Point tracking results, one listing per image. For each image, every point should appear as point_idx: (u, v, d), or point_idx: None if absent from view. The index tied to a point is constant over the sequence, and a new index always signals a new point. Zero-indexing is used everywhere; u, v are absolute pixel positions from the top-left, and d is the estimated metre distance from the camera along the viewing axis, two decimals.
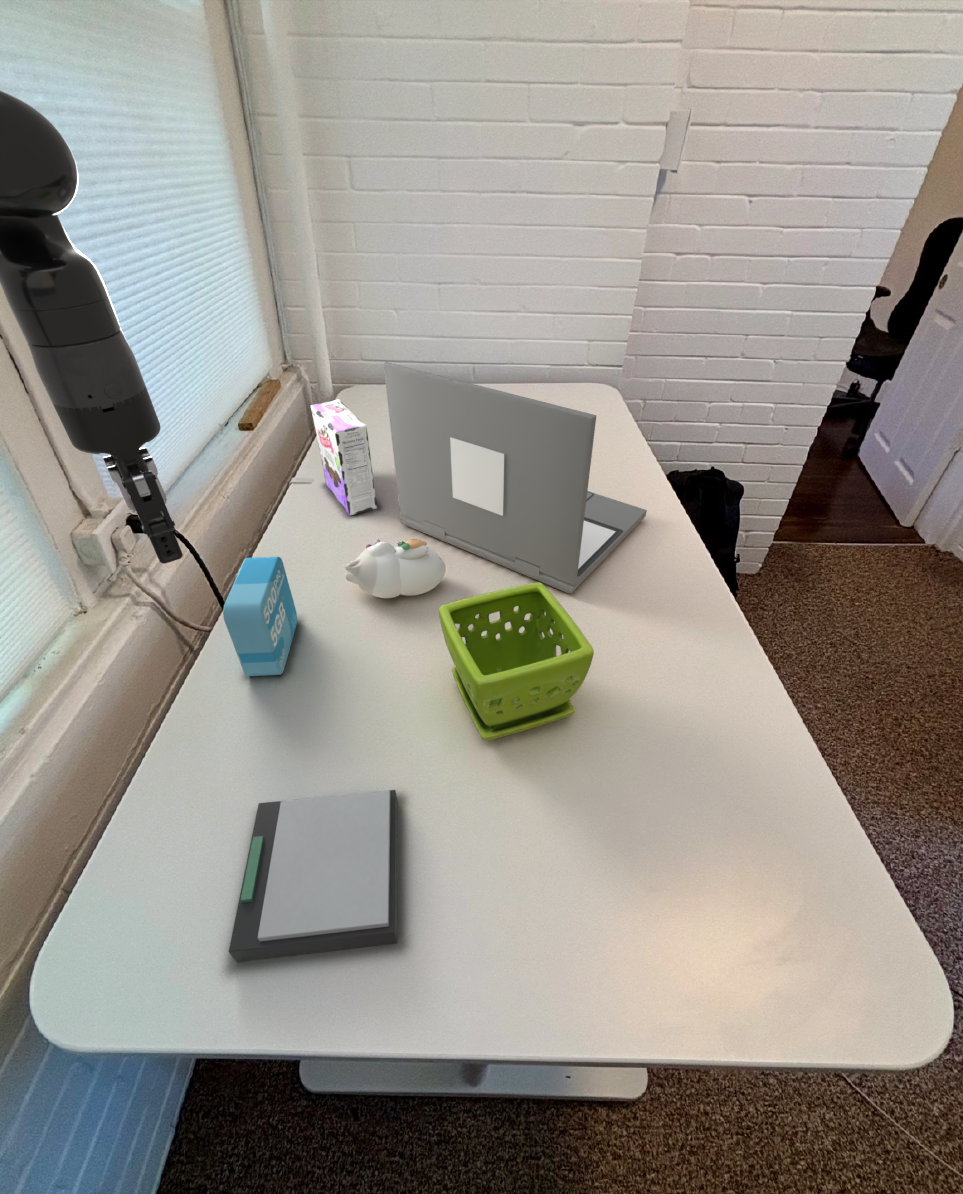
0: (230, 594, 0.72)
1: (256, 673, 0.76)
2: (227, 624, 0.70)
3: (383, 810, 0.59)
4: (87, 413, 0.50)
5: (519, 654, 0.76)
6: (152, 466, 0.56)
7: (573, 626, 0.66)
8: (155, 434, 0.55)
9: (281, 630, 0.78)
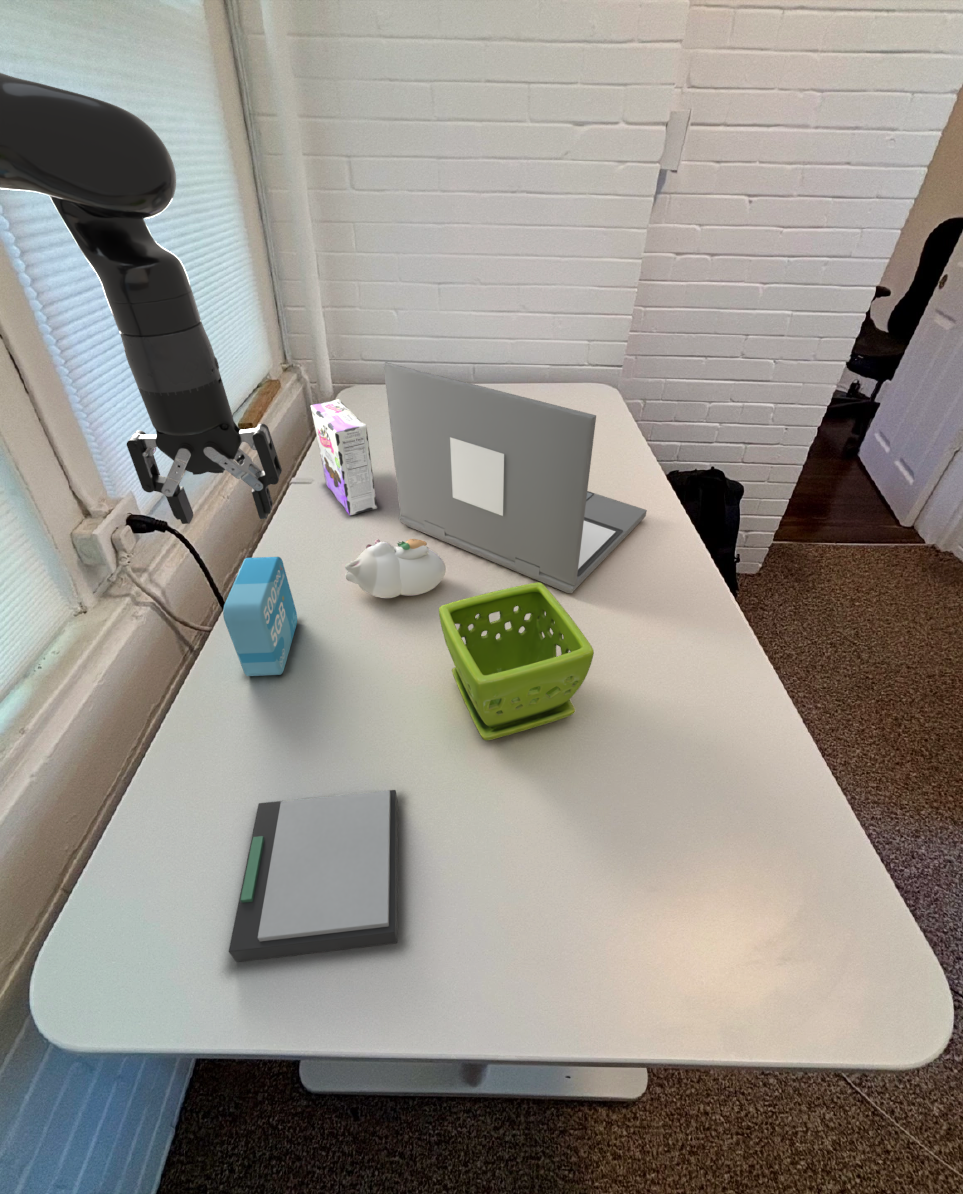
0: (230, 594, 0.72)
1: (256, 673, 0.76)
2: (227, 624, 0.70)
3: (383, 810, 0.59)
4: (212, 387, 0.57)
5: (519, 654, 0.76)
6: None
7: (573, 626, 0.66)
8: None
9: (281, 630, 0.78)
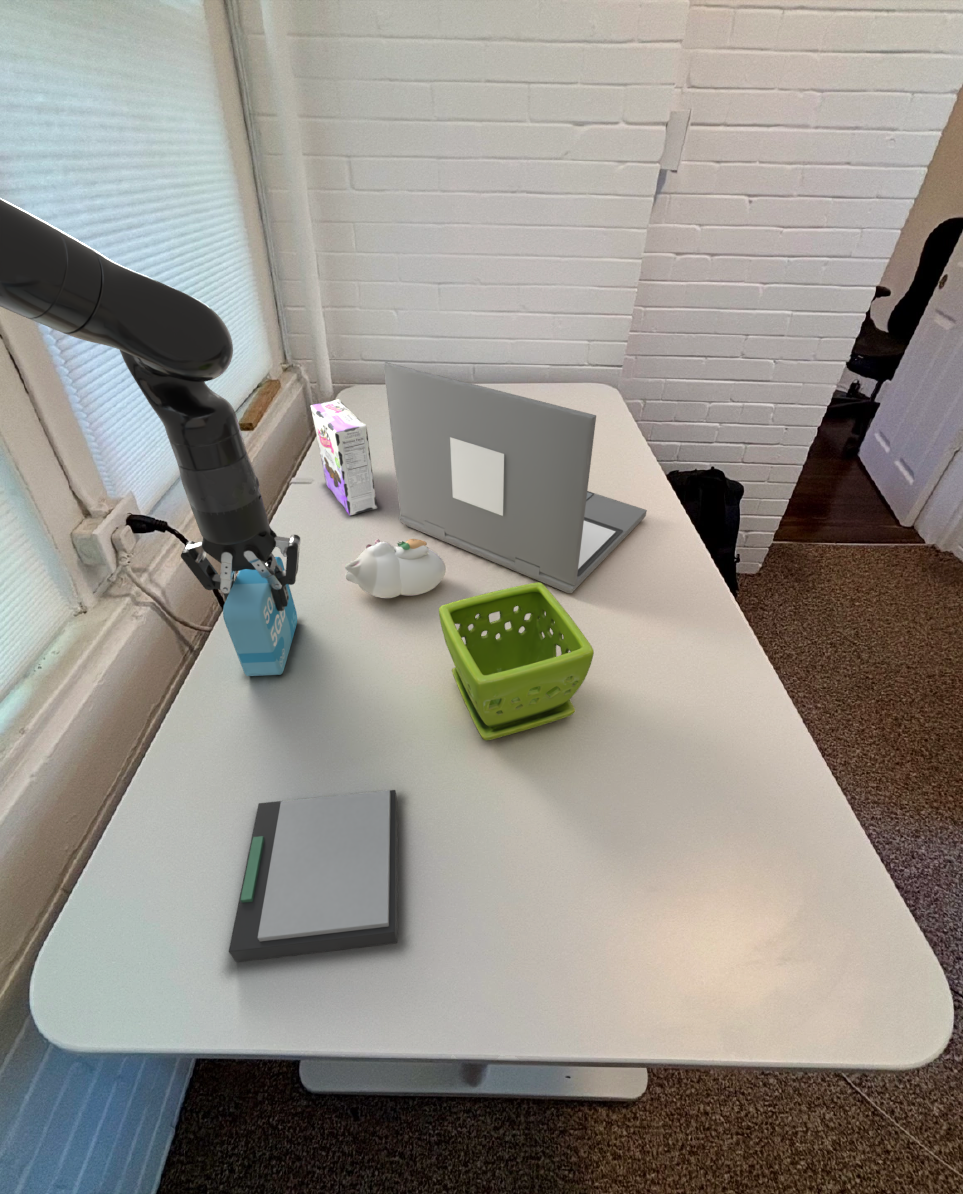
0: (230, 594, 0.72)
1: (256, 673, 0.76)
2: (227, 624, 0.70)
3: (383, 810, 0.59)
4: (254, 504, 0.65)
5: (519, 654, 0.76)
6: None
7: (573, 626, 0.66)
8: None
9: (281, 630, 0.78)
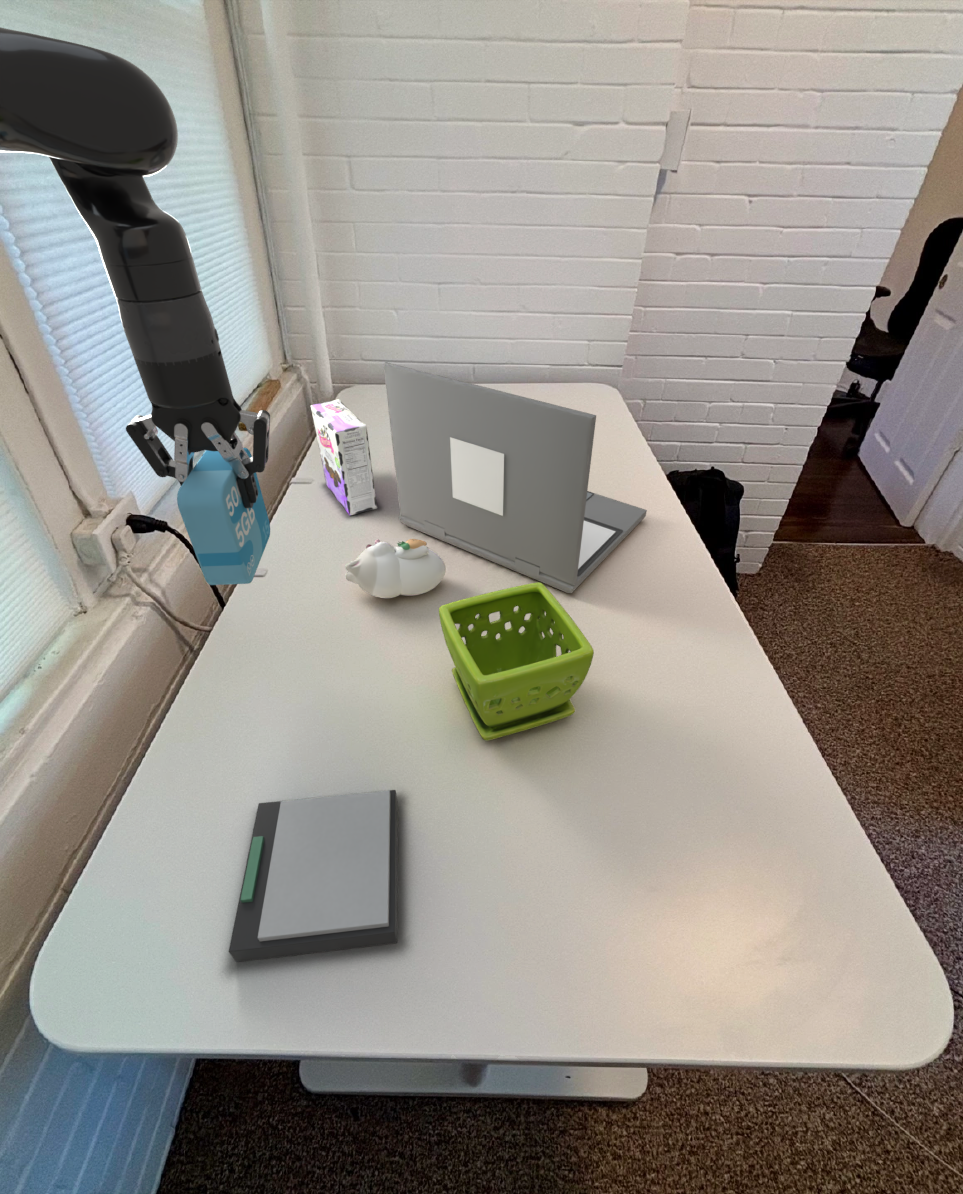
0: (186, 480, 0.60)
1: (219, 580, 0.65)
2: (182, 513, 0.59)
3: (383, 810, 0.59)
4: (212, 358, 0.54)
5: (519, 654, 0.76)
6: None
7: (573, 626, 0.66)
8: None
9: (250, 533, 0.67)
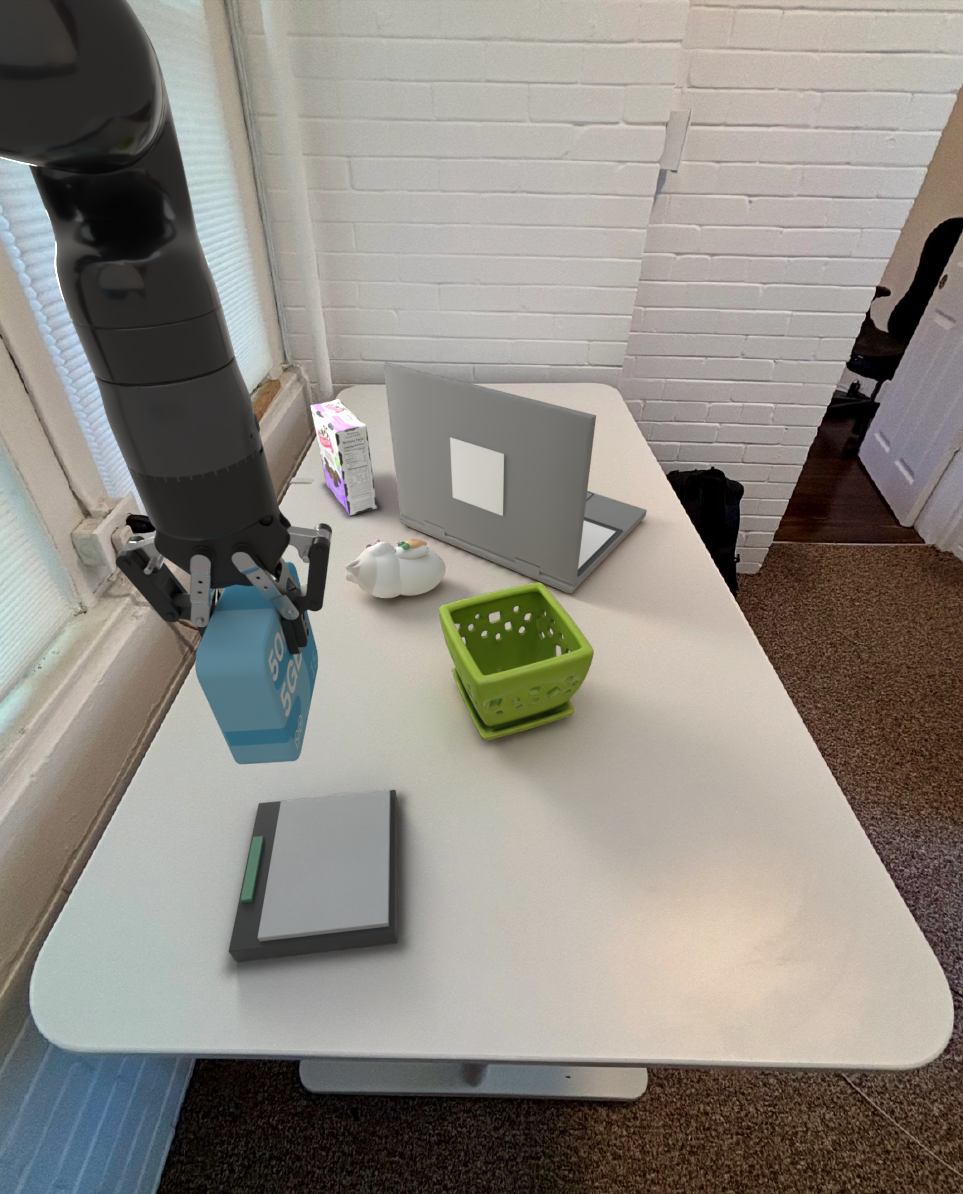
0: (208, 630, 0.40)
1: (255, 760, 0.44)
2: (203, 685, 0.39)
3: (383, 810, 0.59)
4: (251, 462, 0.34)
5: (519, 654, 0.76)
6: None
7: (573, 626, 0.66)
8: None
9: (297, 685, 0.46)
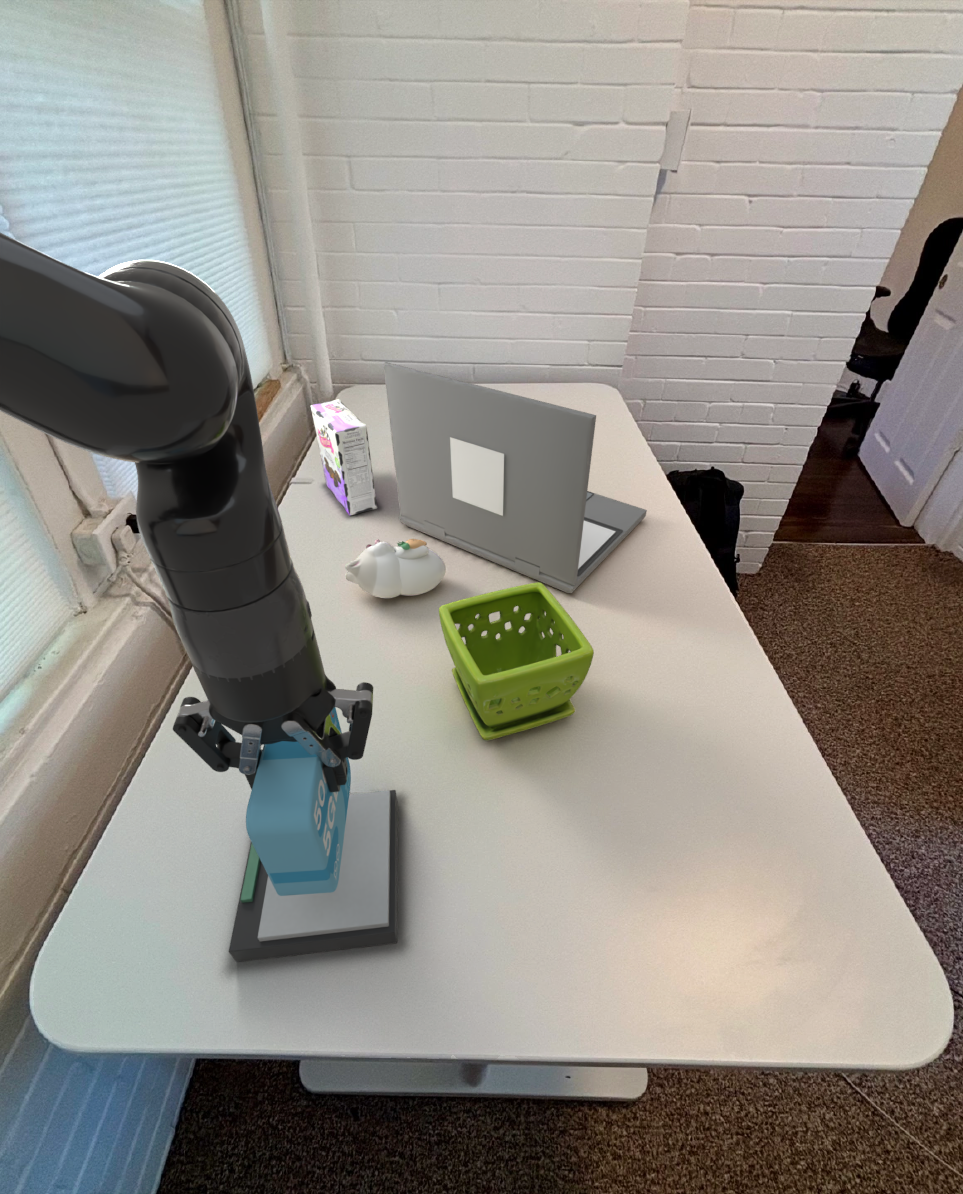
0: (256, 783, 0.43)
1: (297, 893, 0.47)
2: (253, 839, 0.41)
3: (383, 810, 0.59)
4: (304, 652, 0.36)
5: (519, 654, 0.76)
6: None
7: (573, 626, 0.66)
8: None
9: (335, 816, 0.49)
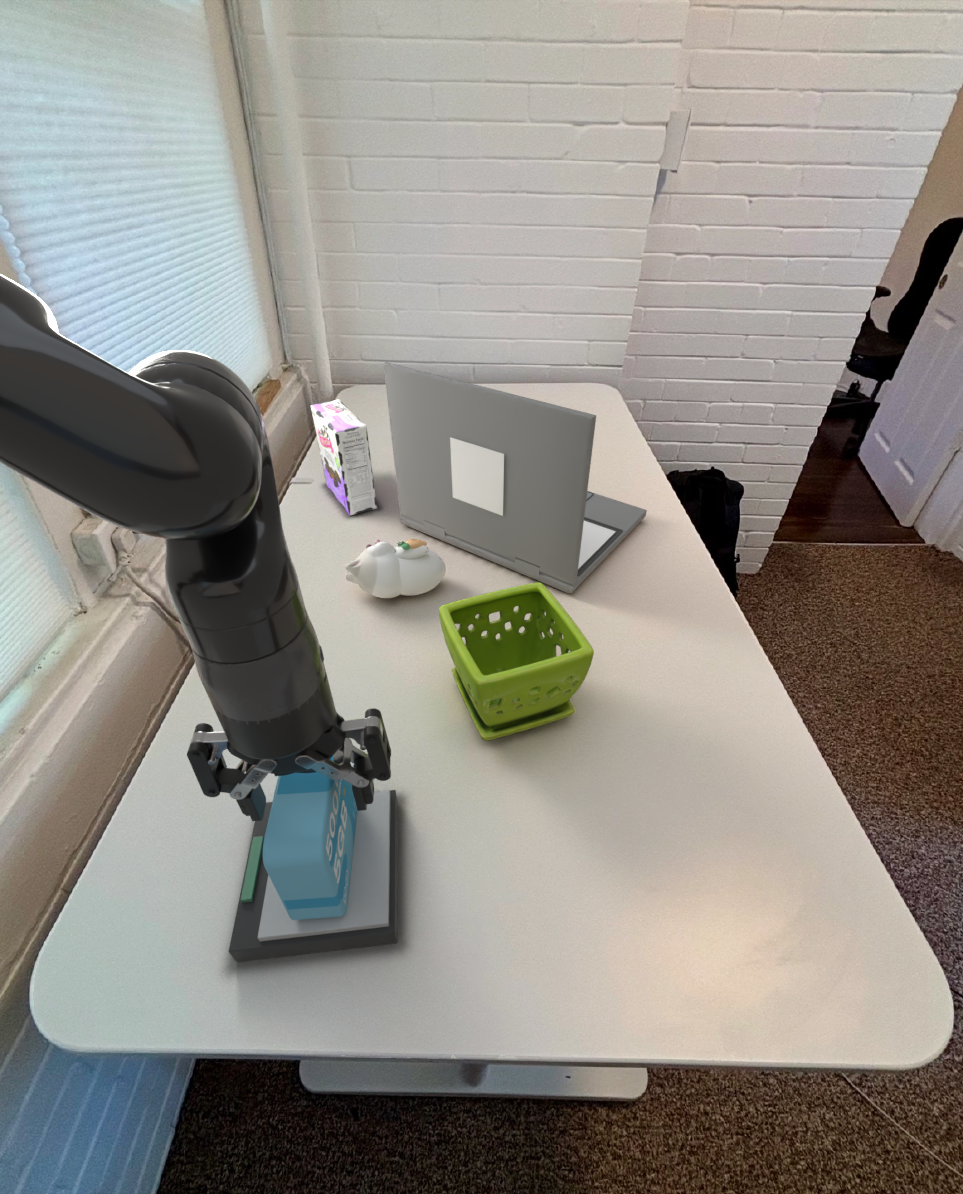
0: (272, 817, 0.45)
1: (308, 918, 0.50)
2: (269, 871, 0.44)
3: (383, 810, 0.59)
4: (317, 695, 0.39)
5: (519, 654, 0.76)
6: None
7: (573, 626, 0.66)
8: None
9: (344, 844, 0.52)
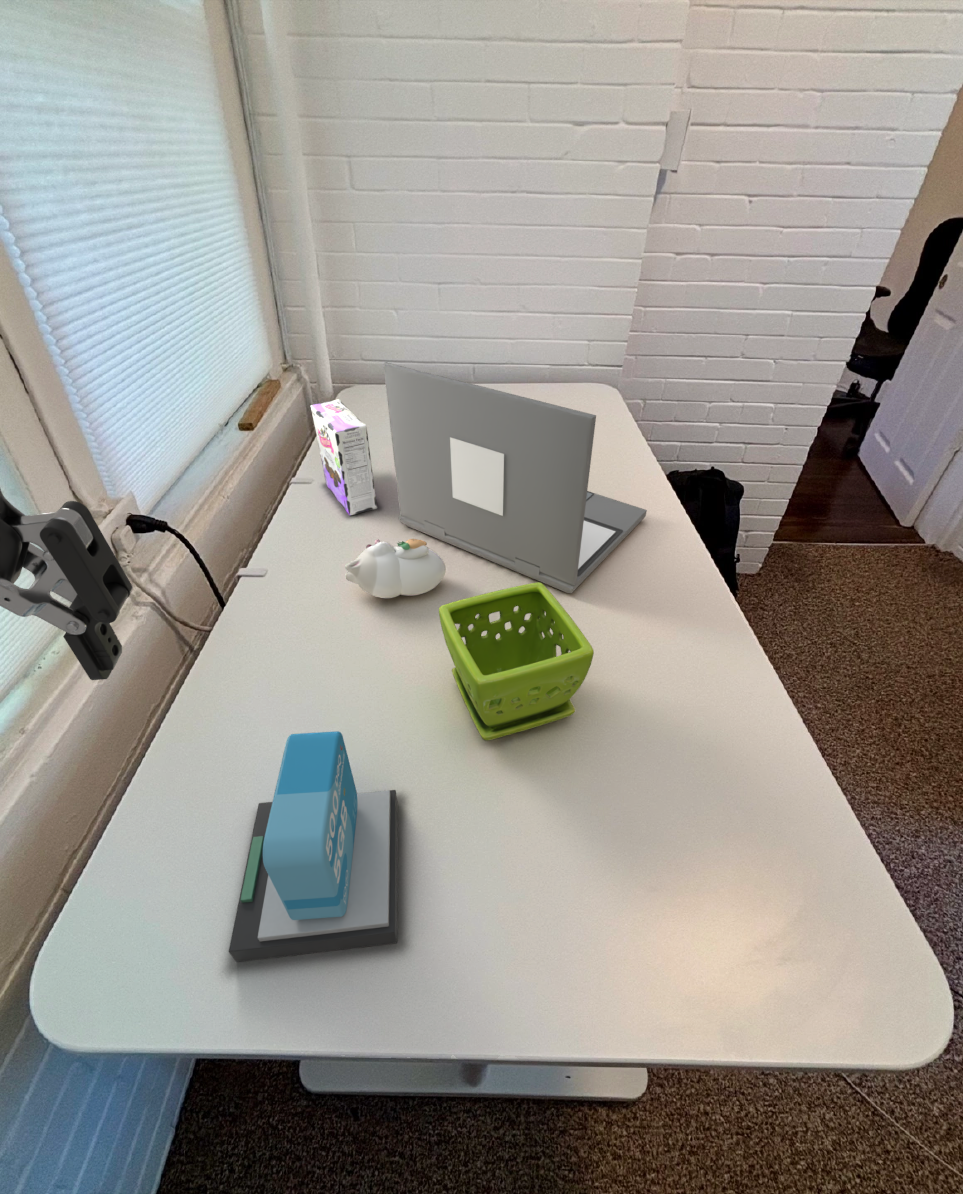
0: (272, 817, 0.45)
1: (308, 918, 0.50)
2: (269, 871, 0.44)
3: (383, 810, 0.59)
4: None
5: (519, 654, 0.76)
6: None
7: (573, 626, 0.66)
8: None
9: (344, 844, 0.52)
